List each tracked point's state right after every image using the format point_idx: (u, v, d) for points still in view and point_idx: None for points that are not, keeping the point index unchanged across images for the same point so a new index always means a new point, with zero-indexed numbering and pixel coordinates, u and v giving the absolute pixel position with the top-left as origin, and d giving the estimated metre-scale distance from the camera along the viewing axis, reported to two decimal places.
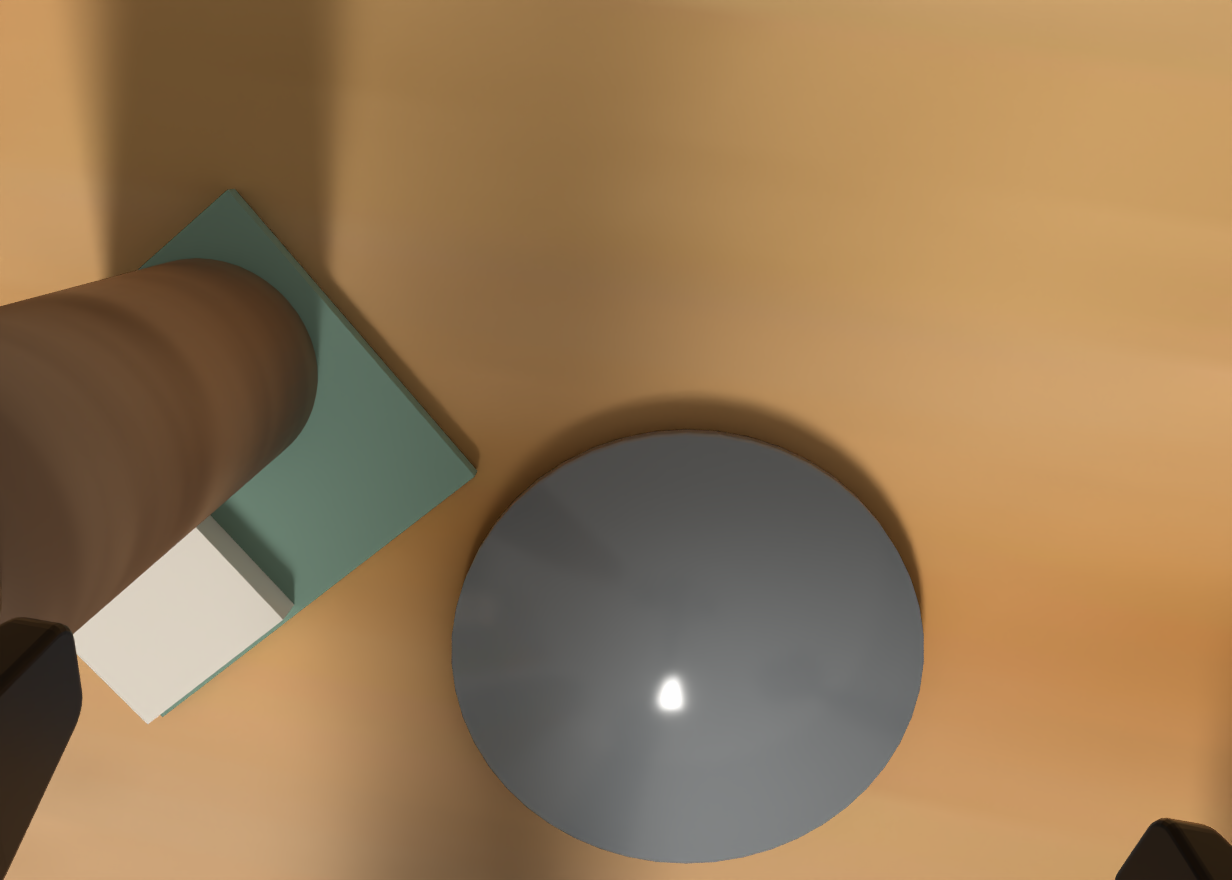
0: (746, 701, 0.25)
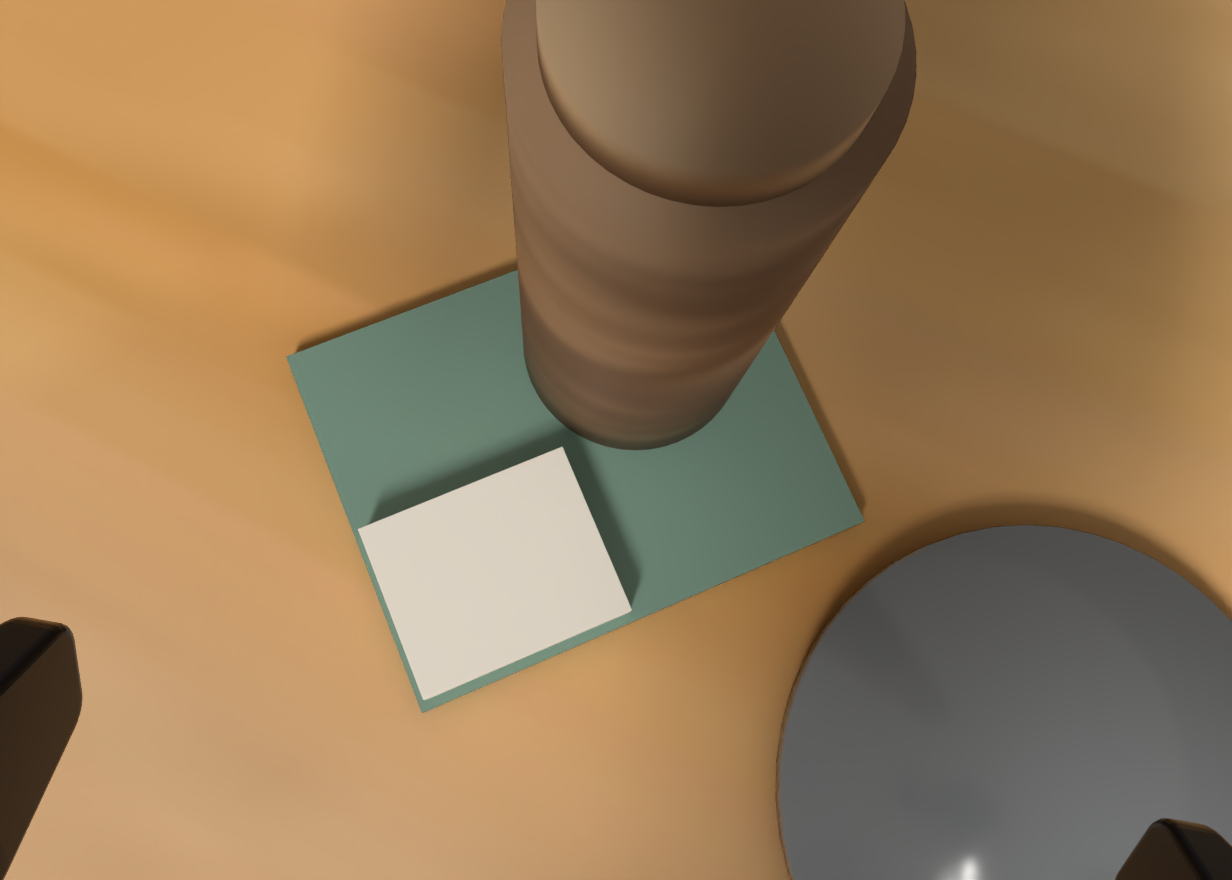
0: (1112, 864, 0.21)
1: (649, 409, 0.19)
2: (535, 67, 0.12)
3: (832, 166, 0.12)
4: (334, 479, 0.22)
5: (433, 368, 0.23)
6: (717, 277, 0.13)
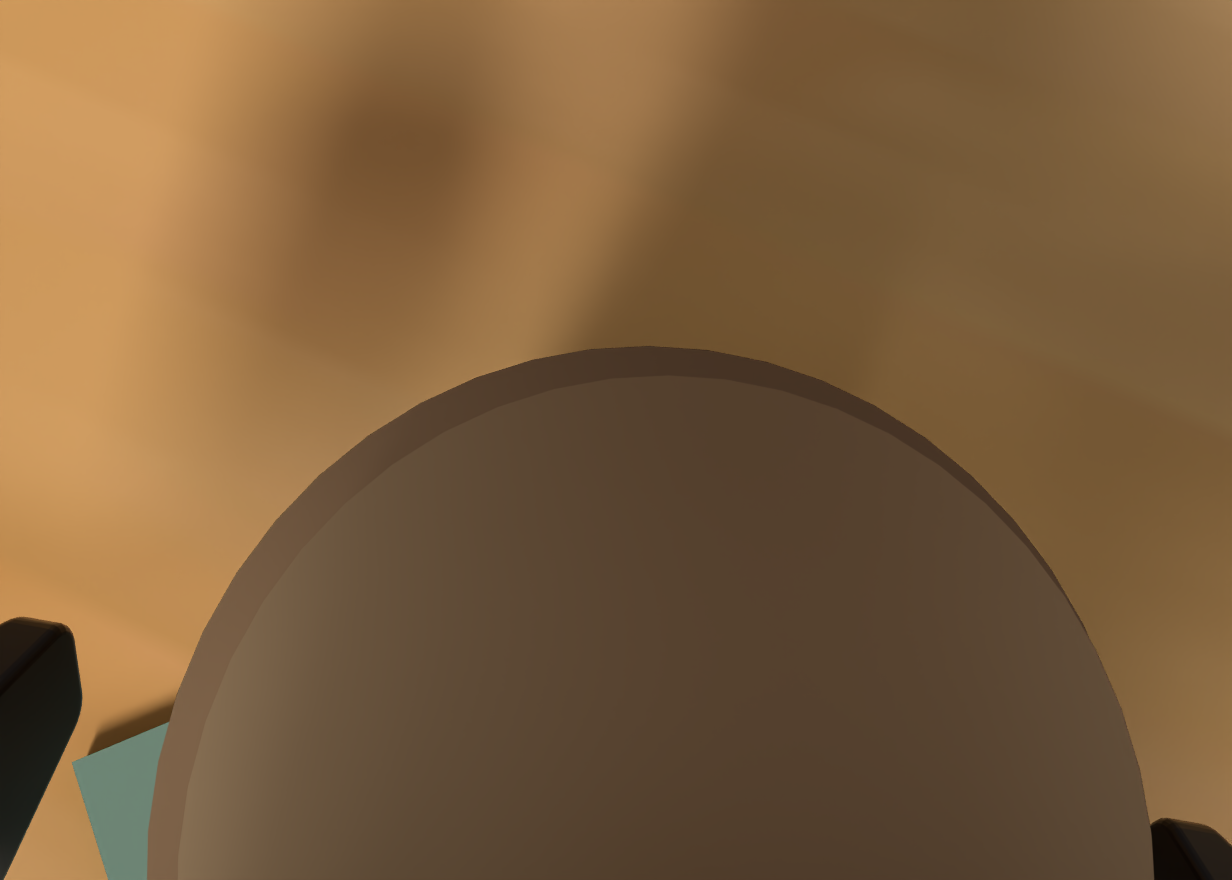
0: None
1: None
2: None
3: None
4: None
5: None
6: None
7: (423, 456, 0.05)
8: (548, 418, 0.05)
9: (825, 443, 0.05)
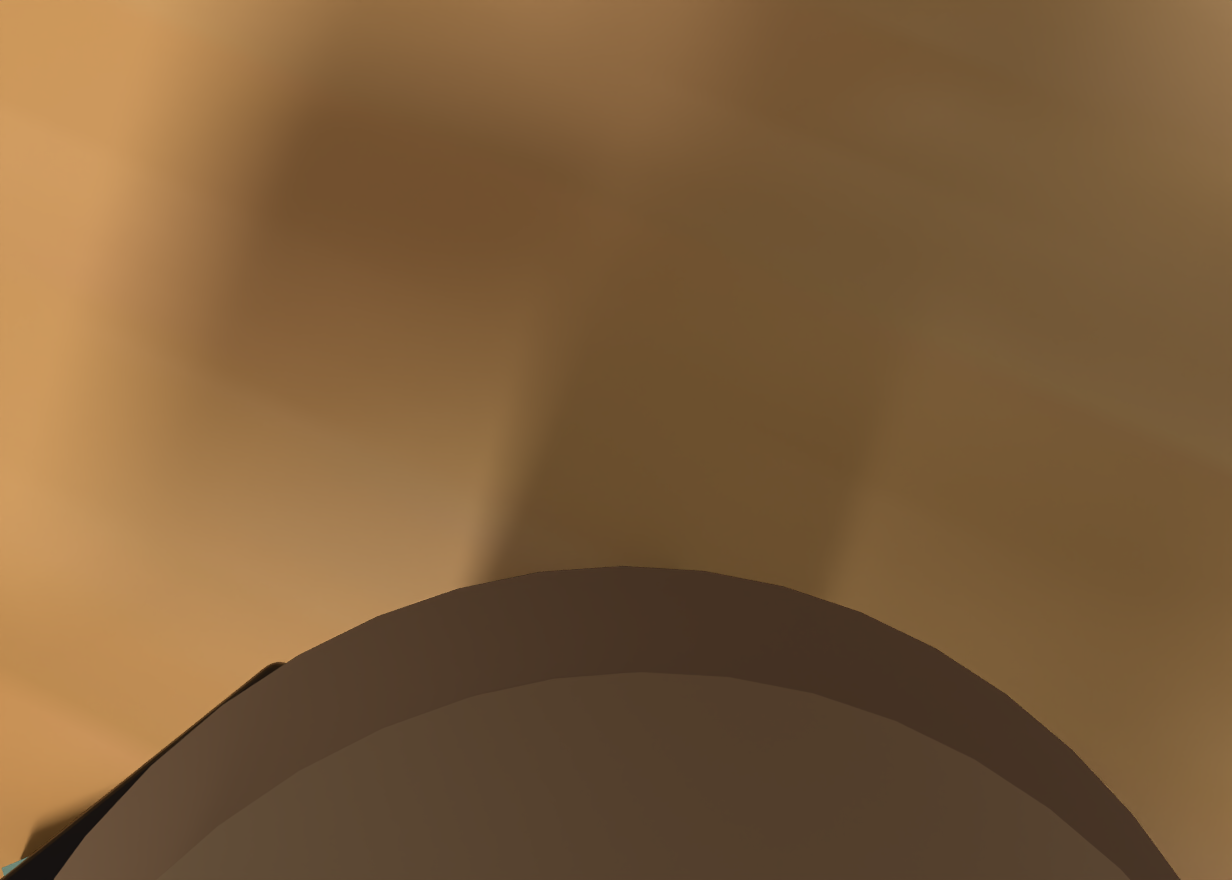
0: None
1: None
2: None
3: None
4: None
5: None
6: None
7: (265, 812, 0.03)
8: (459, 743, 0.03)
9: (878, 776, 0.03)
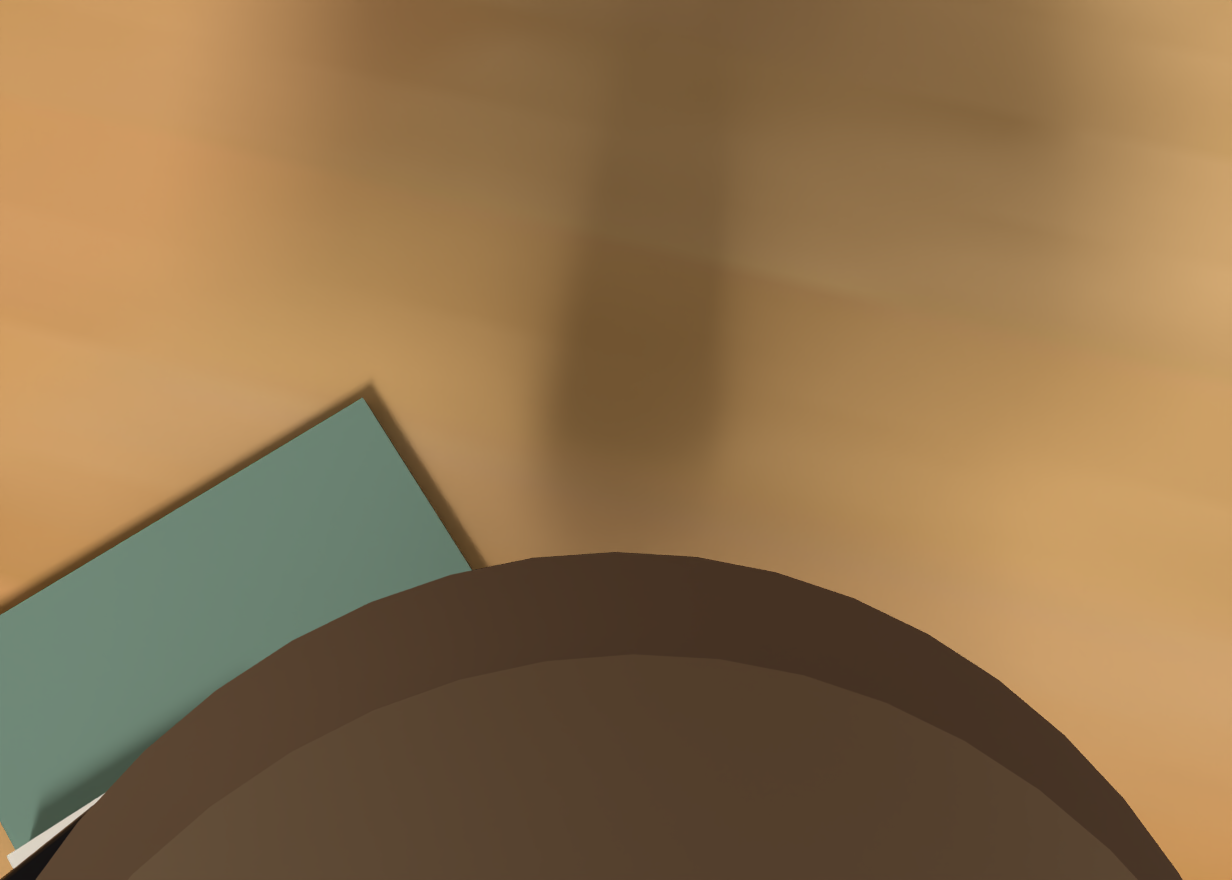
0: None
1: None
2: None
3: None
4: None
5: (80, 647, 0.21)
6: None
7: (257, 794, 0.03)
8: (450, 725, 0.03)
9: (868, 758, 0.03)
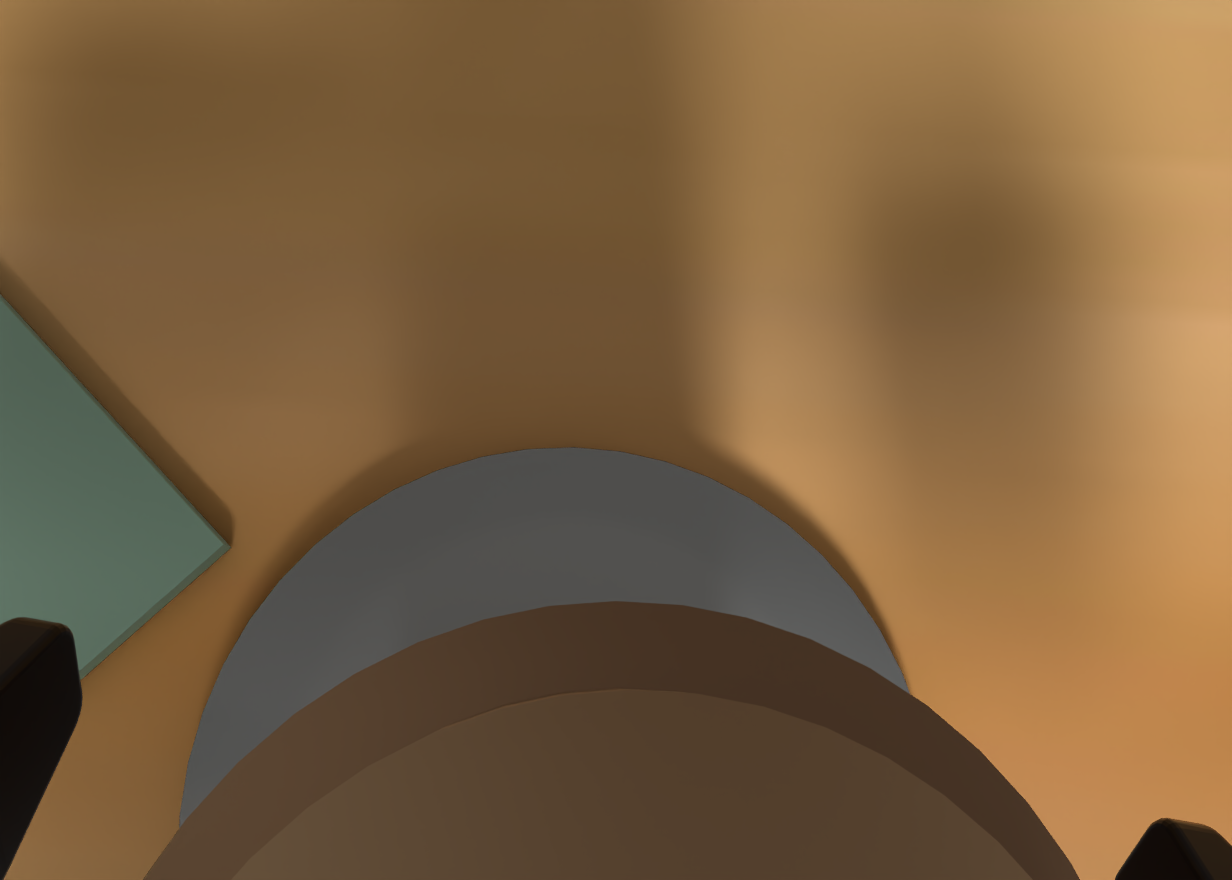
0: None
1: None
2: None
3: None
4: None
5: None
6: None
7: (343, 798, 0.04)
8: (490, 745, 0.04)
9: (812, 770, 0.04)
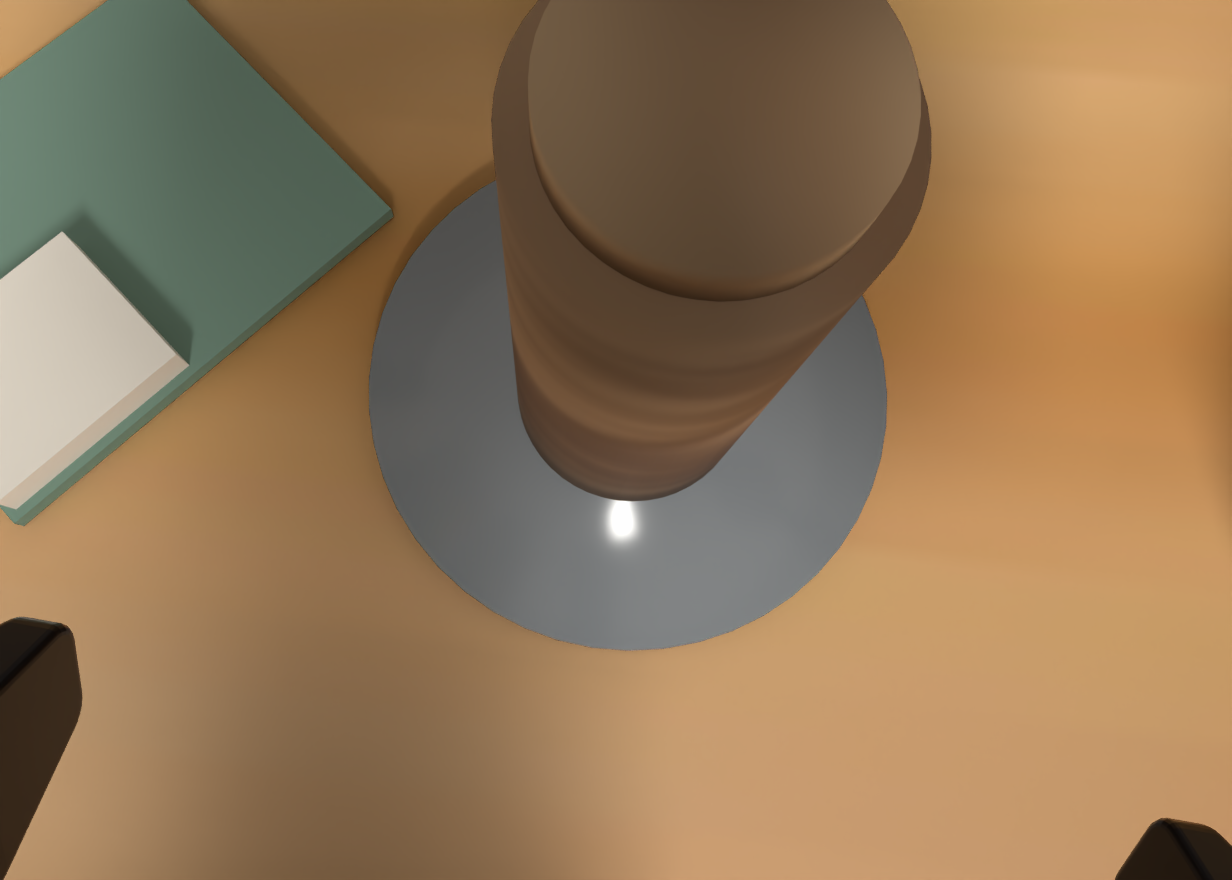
0: None
1: (647, 470, 0.18)
2: (526, 149, 0.11)
3: (841, 258, 0.11)
4: None
5: None
6: (719, 368, 0.12)
7: None
8: None
9: None
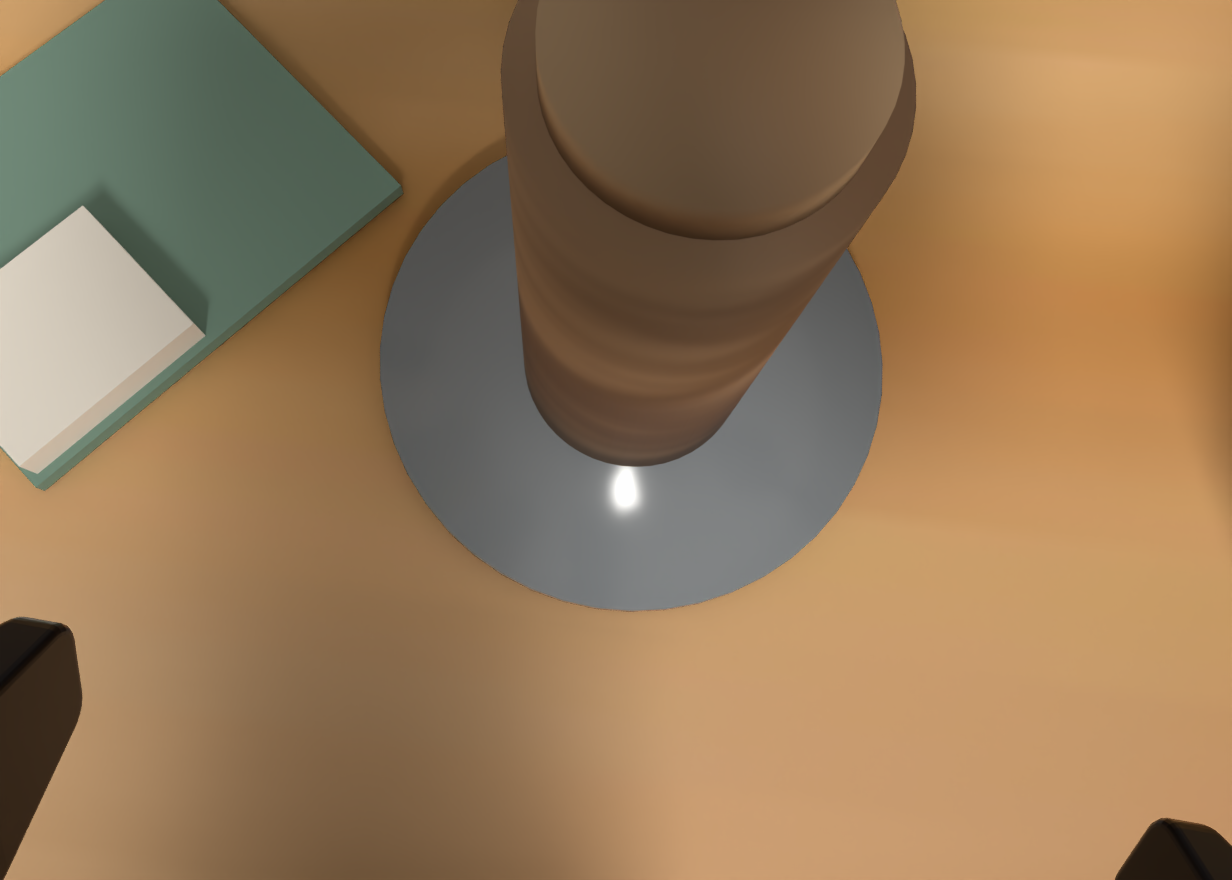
0: None
1: (649, 429, 0.19)
2: (533, 99, 0.12)
3: (831, 200, 0.12)
4: None
5: None
6: (716, 309, 0.13)
7: None
8: None
9: None
